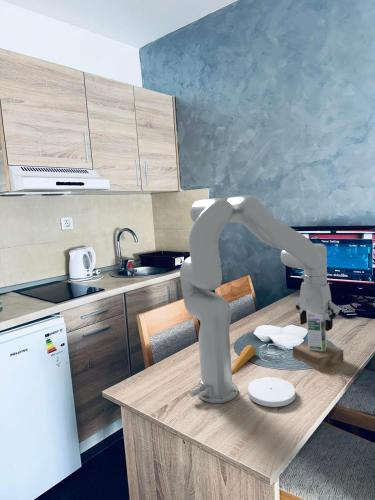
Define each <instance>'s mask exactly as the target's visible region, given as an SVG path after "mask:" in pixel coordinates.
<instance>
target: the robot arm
mask: <svg viewBox="0 0 375 500" xmlns="http://www.w3.org/2000/svg"><path fill="white" fill-rule="evenodd" d="M189 213H190V215H189V216H190V218H191V220H192V221H193V225H192V228H191V230H190V233H189V238H188V246H189V247H188V248H189V257H187V258H185V259H184V261H182V264H181V266H180V269H179V278H180V285H181V292H182V297H183V298H182V299H183V304H184V307H185V309H186V311H187V313H188V314H189V315H191V316H192V317H194V318H195V319H197V320H198V321H199V323H200V325H199V330H198V350H199V351H198V352H199V364H200V365H199V366H200V379H201V380H199V381H198V385H197V387H195V388H193V389H191V390H189V395H190V397H192V398H194V397H196V396H198V398H199V399H201V400H202V401H204V402H207V403H211V404H222V403H223V404H225V403H227V402H230V401H232V400H234V398H236V397H237V396H238V393H239V391H238V386H237V384H236V383H235V382H233V374H232V358H231V357H232V355H231V339H230V338H231V337H230V329H231V328H230V327H231V326H230V325H231V319H232V308H231V305H230V303H229V302H228V300H227V298H225V297H224V296H222V295H220V294H218V293H215V292H214V290H216V289H218V288H219V287H220V286H221V284H222V282H223V273H222V265H221V258H220V251H219V238H220V235H221V234H222V233H221V232H222V231H223V230H224V228H225V227H226V226H227V225H228V224H230V223H231V224H232V223H241V225H243V226H245V228H246V229H248V230H249V231H250V232H251V233H252V234H253V235H254V236H255V237H256V238H258V239H259V240H260V242H262V243H264V244H266V245H269V246H270V247H272V248H275V249H279V250H281V253H280V260H281V262H282V264H284V265H285V266H287V267H289V268H293V269H300V270H303V274H301V279H303V281H302V282H301V285H300V290H299V291H300V297H298V298H295V299H293V304H294V305H295V308H296V310H297V312H298V314H299V320H300V325H304V324H307V313H306V312H305V311H307V310H308V311H311V312H314V313H317V314H324V315H325V317H326V320H325V330H326V332H329V331H330V330H332V329H333V325H334V324H333V323H334V320H333V319H334V318H336V317H337V316H338V314H339V313H340V310H341V308H340V307H339V306H338V305H337V304H335V303H334V302H333V301H332V295H331V289H330V284H329V283H328V269H327V267H328V262H327V261H328V257H327V256H328V253H327V247H326V245H325V244H323V243H314V242H312V241H311V240H310V239H309V238H307V237H306V236H305V235H303V234H302V233H300V232H299V231H297V230H295V229H294V228H292V227H291V226H288V225H287V224H285V223H283V222H282V221H280V220H279V219H278V218H277V217H276V216H275V215H274V214H273V213H272V212H271V210H269V209H268V208H267V207H266V206H265V205H264V204H263V203H262V202H261V201H260V200H259V199H257V198H256V197H255V196H253V195H248V194H247V195H237V196H236V195H235V196H228V197H214V198H202V199H198V200H196V201H195V202H194V203H193V204H192V205H191V207H190V210H189ZM332 311H333V312H332Z"/></svg>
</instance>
